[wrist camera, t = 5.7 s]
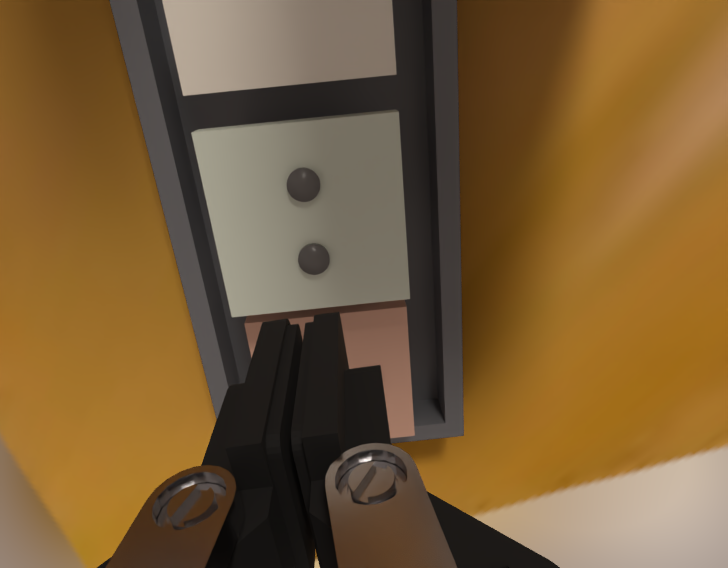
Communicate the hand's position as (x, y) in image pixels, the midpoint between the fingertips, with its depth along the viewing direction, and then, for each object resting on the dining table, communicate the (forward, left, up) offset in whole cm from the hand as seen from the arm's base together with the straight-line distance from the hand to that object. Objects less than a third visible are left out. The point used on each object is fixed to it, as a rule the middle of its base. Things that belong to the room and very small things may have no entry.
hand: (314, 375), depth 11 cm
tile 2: (0, -2, -9) cm, 9 cm away
